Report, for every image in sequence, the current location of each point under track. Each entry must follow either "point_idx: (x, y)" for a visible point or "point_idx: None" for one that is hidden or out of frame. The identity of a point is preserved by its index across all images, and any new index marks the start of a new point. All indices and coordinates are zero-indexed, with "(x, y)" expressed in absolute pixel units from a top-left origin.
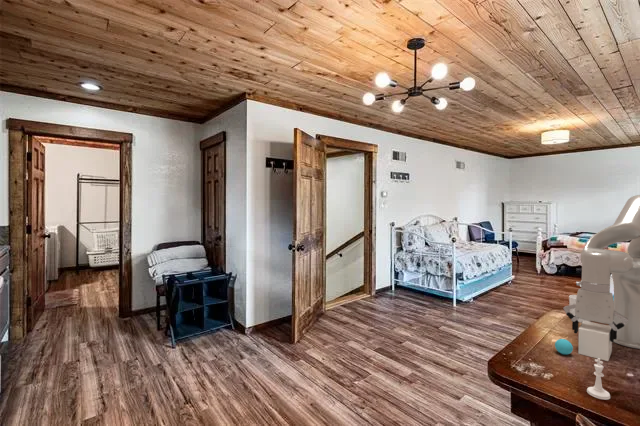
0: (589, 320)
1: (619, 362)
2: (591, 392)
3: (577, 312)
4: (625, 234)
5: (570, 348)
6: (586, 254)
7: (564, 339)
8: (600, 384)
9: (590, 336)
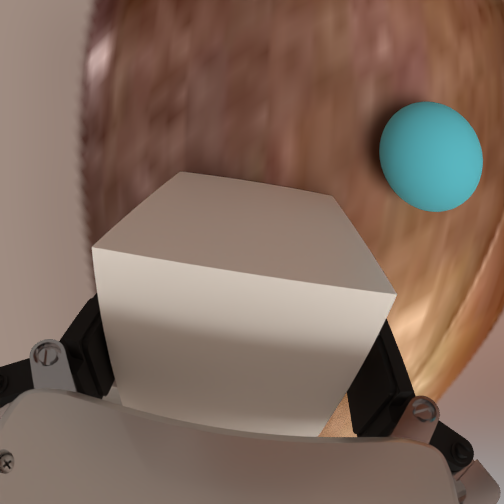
0: (285, 435)
1: (133, 193)
2: None
3: (443, 499)
4: None
5: (403, 115)
6: None
7: (458, 171)
8: None
9: (274, 244)
